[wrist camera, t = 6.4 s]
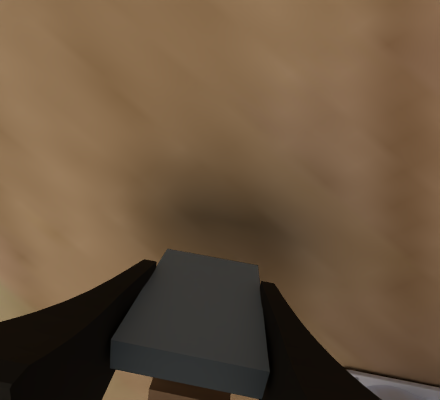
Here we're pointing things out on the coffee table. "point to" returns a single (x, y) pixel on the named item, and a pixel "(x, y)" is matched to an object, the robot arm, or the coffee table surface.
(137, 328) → the domino
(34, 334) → the robot arm
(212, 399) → the domino
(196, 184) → the coffee table surface
